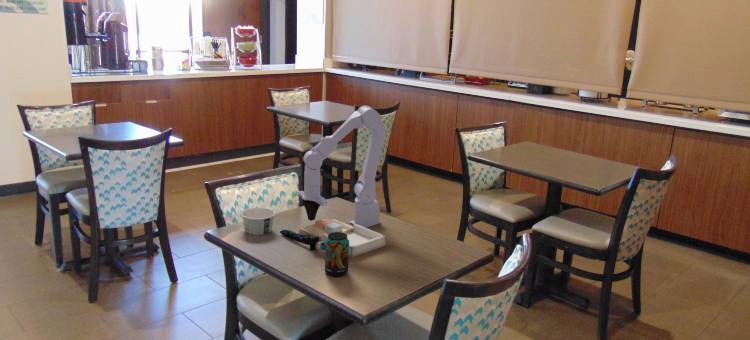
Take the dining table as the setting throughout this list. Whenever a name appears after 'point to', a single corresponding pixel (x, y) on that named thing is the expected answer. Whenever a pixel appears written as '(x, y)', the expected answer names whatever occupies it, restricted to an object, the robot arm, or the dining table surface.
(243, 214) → the food container
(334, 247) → the beverage can
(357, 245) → the box
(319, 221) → the terracotta tile
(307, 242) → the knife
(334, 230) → the blue tile
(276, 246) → the dining table surface
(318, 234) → the birch plate
